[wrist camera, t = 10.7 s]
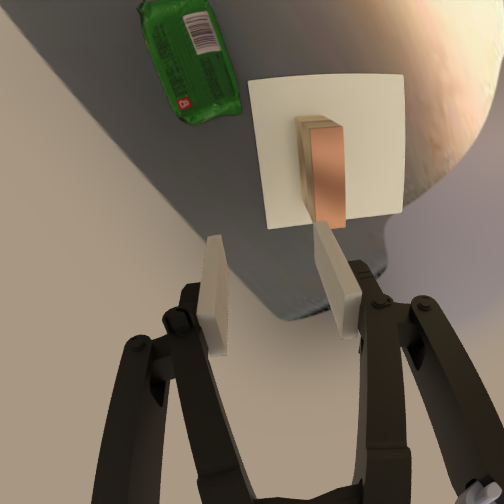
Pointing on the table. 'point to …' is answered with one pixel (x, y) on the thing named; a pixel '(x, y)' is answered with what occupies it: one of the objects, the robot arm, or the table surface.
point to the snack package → (190, 59)
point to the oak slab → (322, 169)
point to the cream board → (355, 140)
